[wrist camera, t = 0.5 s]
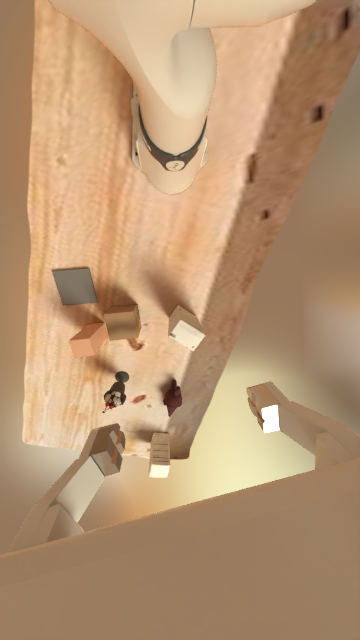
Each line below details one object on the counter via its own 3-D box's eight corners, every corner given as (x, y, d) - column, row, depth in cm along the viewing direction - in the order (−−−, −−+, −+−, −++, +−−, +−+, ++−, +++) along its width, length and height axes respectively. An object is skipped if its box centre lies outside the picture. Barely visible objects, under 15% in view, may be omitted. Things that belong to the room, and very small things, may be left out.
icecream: (181, 422, 64) (189, 388, 60) (162, 425, 61) (170, 390, 57) (175, 408, 70) (182, 377, 66) (158, 410, 67) (164, 378, 64)
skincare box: (197, 316, 56) (208, 335, 43) (187, 330, 58) (194, 352, 44) (176, 303, 54) (181, 318, 40) (166, 318, 56) (167, 337, 42)
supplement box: (166, 444, 76) (167, 478, 64) (150, 443, 75) (147, 477, 63) (169, 432, 74) (170, 465, 62) (153, 431, 73) (150, 465, 61)
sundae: (109, 377, 61) (92, 412, 47) (120, 366, 60) (107, 398, 46) (123, 387, 63) (111, 423, 49) (135, 376, 62) (126, 410, 48)
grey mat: (53, 271, 48) (52, 271, 47) (89, 268, 48) (88, 268, 48) (64, 304, 51) (63, 305, 51) (97, 301, 52) (96, 302, 51)
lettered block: (111, 306, 53) (102, 314, 45) (137, 304, 53) (133, 311, 46) (116, 329, 55) (109, 340, 48) (141, 327, 56) (137, 337, 48)
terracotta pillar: (88, 324, 54) (68, 340, 43) (104, 322, 54) (88, 338, 43) (92, 337, 56) (74, 357, 44) (107, 336, 56) (93, 355, 45)
